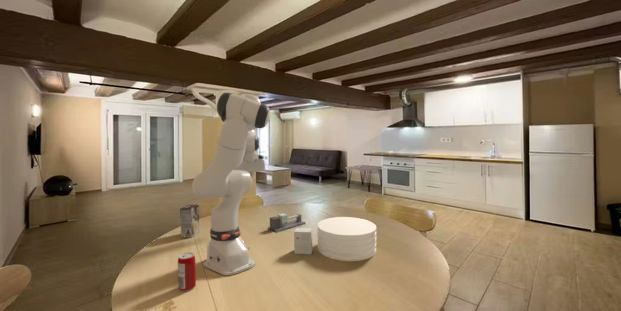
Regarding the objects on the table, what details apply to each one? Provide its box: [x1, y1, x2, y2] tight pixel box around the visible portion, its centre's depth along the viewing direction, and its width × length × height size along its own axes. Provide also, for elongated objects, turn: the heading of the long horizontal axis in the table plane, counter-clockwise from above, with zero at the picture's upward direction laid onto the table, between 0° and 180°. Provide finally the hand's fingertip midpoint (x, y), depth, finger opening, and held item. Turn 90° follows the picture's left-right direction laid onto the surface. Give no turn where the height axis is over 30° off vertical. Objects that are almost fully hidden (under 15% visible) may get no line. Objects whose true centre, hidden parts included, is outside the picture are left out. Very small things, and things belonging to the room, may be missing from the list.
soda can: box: [177, 252, 197, 292], centre depth 93 cm, size 6×6×12 cm
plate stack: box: [317, 216, 377, 262], centre depth 127 cm, size 28×28×12 cm
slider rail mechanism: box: [267, 213, 306, 233], centre depth 160 cm, size 9×22×7 cm, turn 134°
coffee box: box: [179, 204, 201, 238], centre depth 146 cm, size 9×6×16 cm
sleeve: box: [277, 212, 288, 225], centre depth 158 cm, size 4×4×6 cm
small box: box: [293, 227, 313, 255], centre depth 123 cm, size 8×6×10 cm
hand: (249, 179), depth 156 cm, fingers closed
